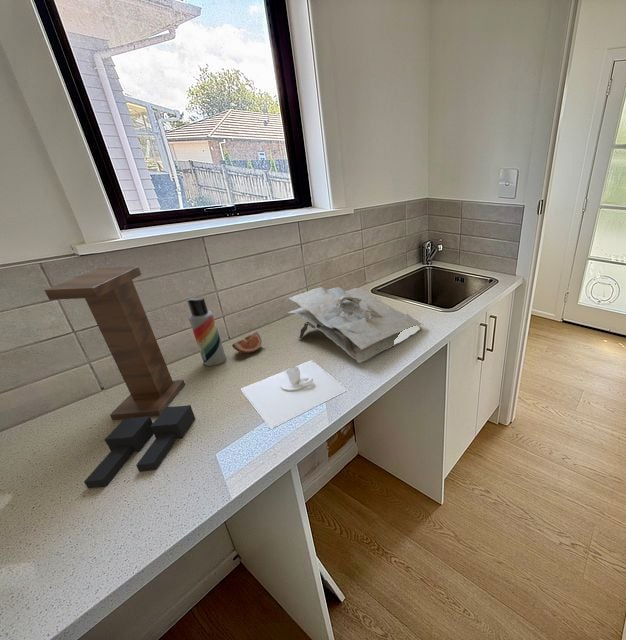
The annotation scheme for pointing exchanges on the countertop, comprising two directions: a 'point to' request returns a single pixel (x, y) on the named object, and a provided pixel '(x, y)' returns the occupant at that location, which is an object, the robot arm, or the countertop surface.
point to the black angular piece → (166, 435)
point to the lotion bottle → (206, 332)
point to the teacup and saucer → (292, 392)
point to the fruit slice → (248, 344)
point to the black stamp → (121, 449)
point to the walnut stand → (125, 337)
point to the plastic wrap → (352, 320)
